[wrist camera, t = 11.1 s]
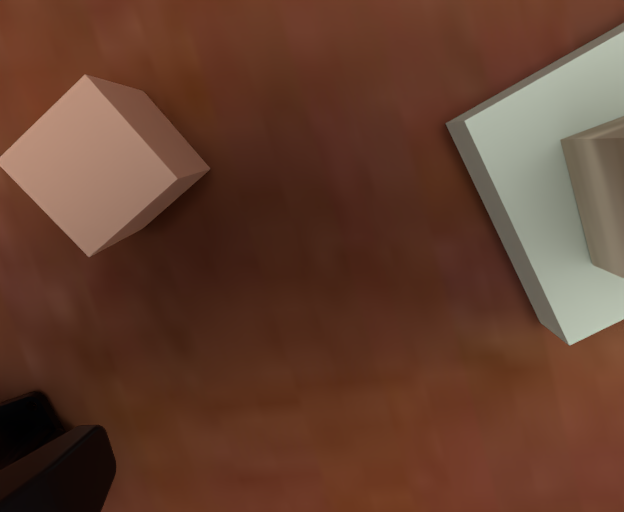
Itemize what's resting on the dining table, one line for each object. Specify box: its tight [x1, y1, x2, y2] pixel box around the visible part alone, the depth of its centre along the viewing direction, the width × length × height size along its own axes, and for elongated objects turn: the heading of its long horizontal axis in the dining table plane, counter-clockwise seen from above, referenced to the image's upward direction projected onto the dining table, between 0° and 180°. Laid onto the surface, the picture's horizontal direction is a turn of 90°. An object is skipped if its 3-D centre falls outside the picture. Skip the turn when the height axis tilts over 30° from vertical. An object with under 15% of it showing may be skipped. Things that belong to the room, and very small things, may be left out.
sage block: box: [445, 23, 624, 346], centre depth 19 cm, size 10×10×3 cm
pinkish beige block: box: [0, 74, 210, 257], centre depth 17 cm, size 4×4×5 cm
